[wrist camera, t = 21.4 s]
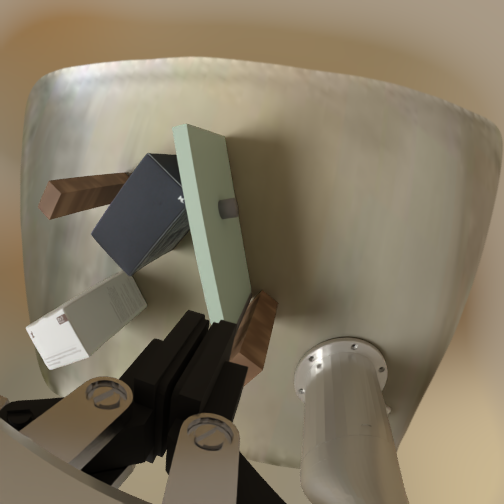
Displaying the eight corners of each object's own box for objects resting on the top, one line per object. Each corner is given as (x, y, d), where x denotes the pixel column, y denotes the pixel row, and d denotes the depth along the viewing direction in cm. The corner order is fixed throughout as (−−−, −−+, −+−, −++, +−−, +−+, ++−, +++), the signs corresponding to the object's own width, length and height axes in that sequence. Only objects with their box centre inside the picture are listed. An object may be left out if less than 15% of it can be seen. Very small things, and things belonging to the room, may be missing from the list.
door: (264, 297, 38) (246, 351, 27) (243, 299, 39) (218, 352, 28) (236, 134, 34) (203, 119, 23) (214, 138, 35) (172, 127, 23)
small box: (187, 151, 36) (146, 148, 26) (227, 189, 36) (198, 198, 26) (135, 216, 39) (86, 233, 29) (171, 252, 40) (130, 280, 30)
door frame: (278, 303, 39) (262, 370, 26) (262, 319, 40) (240, 389, 26) (124, 172, 38) (48, 180, 24) (113, 191, 39) (37, 206, 25)
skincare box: (109, 321, 44) (48, 373, 30) (90, 285, 43) (21, 328, 29) (151, 304, 42) (90, 361, 28) (130, 264, 41) (59, 308, 27)
